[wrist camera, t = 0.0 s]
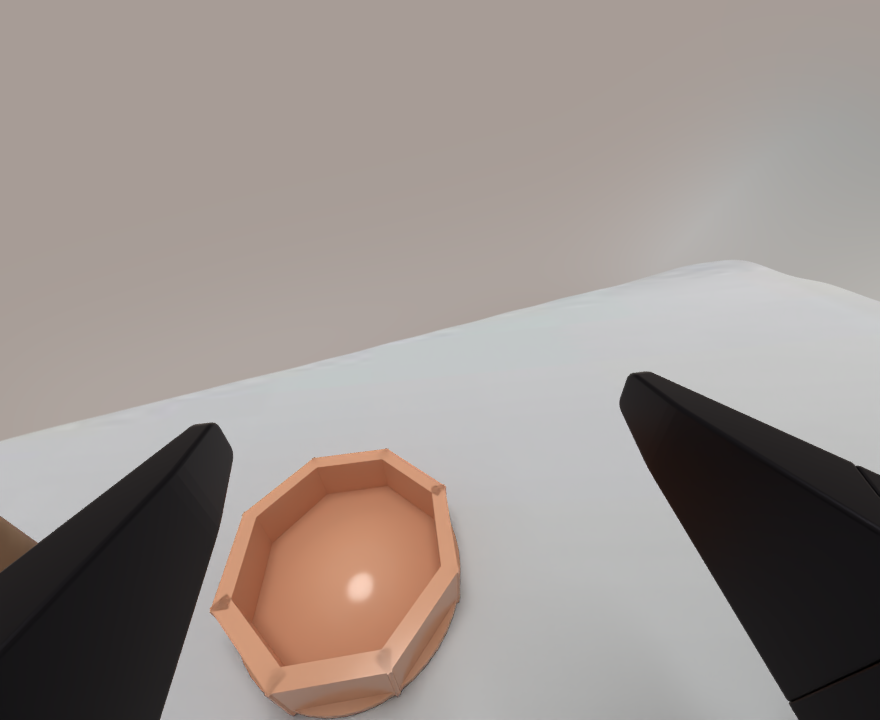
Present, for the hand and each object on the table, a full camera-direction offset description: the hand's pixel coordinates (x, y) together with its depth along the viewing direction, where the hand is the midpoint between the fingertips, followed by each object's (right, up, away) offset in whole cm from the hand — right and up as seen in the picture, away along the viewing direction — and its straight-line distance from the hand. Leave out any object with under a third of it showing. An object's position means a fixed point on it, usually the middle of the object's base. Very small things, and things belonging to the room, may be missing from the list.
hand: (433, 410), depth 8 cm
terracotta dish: (-5, -11, +13) cm, 18 cm away
